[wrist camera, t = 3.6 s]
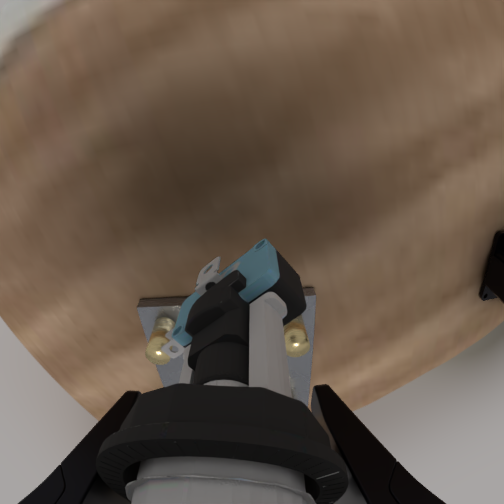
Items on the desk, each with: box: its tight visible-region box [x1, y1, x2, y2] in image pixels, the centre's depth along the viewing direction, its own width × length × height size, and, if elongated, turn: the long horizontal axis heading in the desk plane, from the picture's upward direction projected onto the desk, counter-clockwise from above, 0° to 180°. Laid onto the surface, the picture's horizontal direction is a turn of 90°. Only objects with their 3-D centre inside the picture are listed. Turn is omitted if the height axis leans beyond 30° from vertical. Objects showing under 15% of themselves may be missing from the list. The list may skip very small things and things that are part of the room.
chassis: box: [137, 287, 316, 407], centre depth 23 cm, size 12×14×4 cm
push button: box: [96, 239, 349, 504], centre depth 9 cm, size 7×5×10 cm
